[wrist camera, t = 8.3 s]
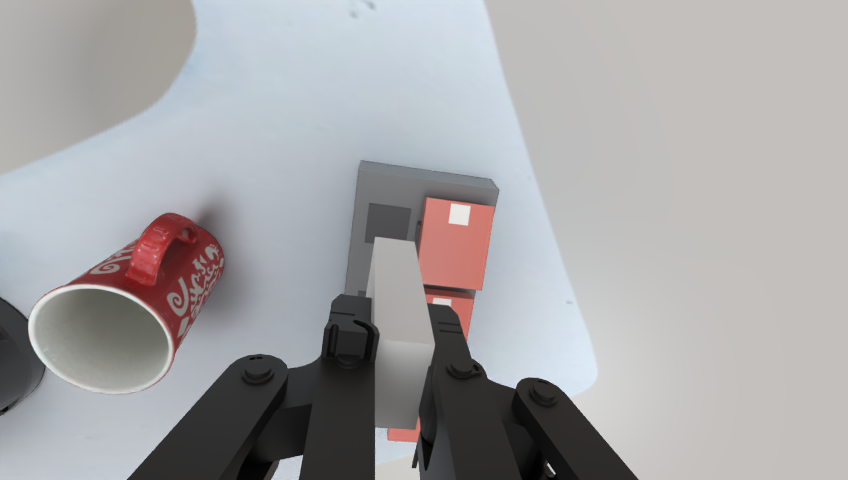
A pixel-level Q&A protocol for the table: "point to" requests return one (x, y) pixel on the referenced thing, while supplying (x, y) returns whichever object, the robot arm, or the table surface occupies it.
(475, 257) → the block
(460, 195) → the power strip
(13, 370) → the robot arm
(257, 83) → the table surface
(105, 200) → the table surface
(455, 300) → the red box
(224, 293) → the table surface
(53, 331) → the mug
